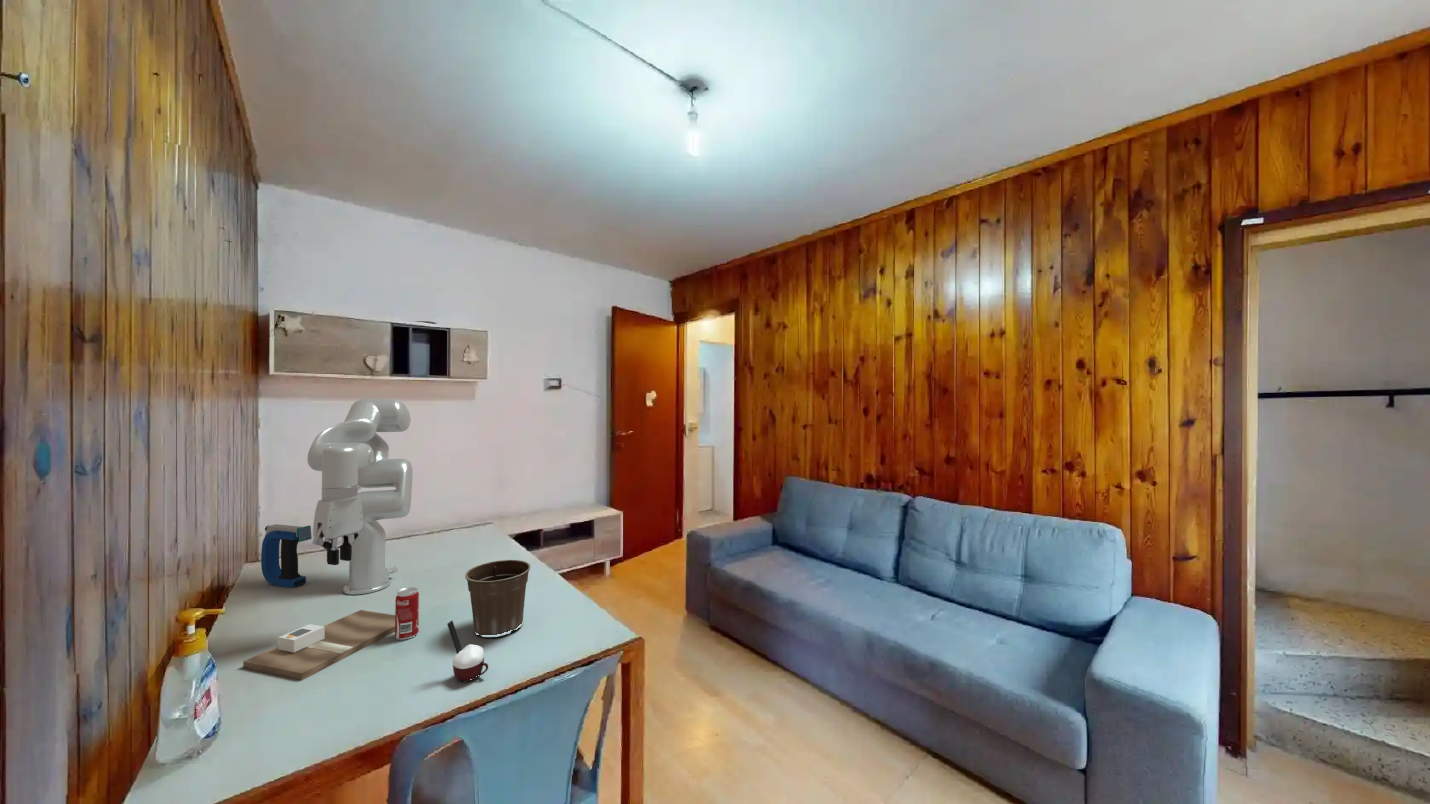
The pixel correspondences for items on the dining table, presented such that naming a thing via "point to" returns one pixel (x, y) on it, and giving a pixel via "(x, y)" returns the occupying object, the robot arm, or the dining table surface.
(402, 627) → the soda can
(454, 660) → the cocoa
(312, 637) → the block
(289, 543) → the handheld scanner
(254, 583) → the dining table surface
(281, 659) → the board
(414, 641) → the dining table surface
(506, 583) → the plant pot
